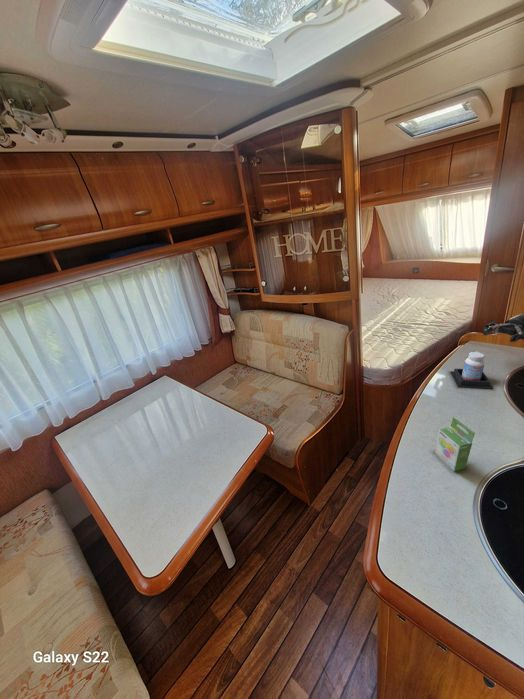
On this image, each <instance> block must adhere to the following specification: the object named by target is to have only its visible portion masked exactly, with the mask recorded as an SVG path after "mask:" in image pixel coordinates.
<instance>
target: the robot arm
mask: <svg viewBox="0 0 524 699" xmlns="http://www.w3.org/2000/svg"><path fill="white" fill-rule="evenodd" d="M482 334H483V336H488V335H490V334H496V335H498V334H499V335H500V334H503V335H508V336H510V339H509V342H510V343H514V342H515V343H516V342H517V341H521V340H523V341H524V312H523V313H519V314H517V315H515V316H513V317H511V318H508V319H507V320H506V321H505V322H504V323H499V324H498V323H497V321H490V322H488V323H486V324H484V326H483V333H482Z"/></svg>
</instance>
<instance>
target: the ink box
mask: <svg viewBox="0 0 524 699" xmlns="http://www.w3.org/2000/svg"><path fill="white" fill-rule="evenodd" d="M459 426H460V427H459ZM463 429H465V430H463ZM465 431H466V432H465ZM475 434H476V433H475V431H473V430H472V429H471V428H469V427H468V426H467V425H465V424H464V423H463V422H461V421H460V420H459V419H457V418H456V417H455V416H452V420H451V424H450V426H446V427H444V428H443V427H442V428H440V429H439V430H438V434H437V440H436V441H437V442H436V448H435V455H436V456H437V457H438V458H439V459H440V460H441V461H442V462H443V463H444V464H445V465H446V466H447V467H448V468H449V469H450V470H451V471H452V472H453V473H454V472H457V471H461V470H465V469H466V468H467V464H468V461H469V456H470V453H471V449H472V446H473V440H474V437H475Z"/></svg>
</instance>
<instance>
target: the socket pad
mask: <svg viewBox="0 0 524 699" xmlns="http://www.w3.org/2000/svg"><path fill="white" fill-rule="evenodd" d="M449 372H450V376H451V377H452V379H453V381H454V383H455V385H456V387H457V388H458V389H459V388H461V389H477V390H494V387H493V386H492V384H491V381H490V379H489V378H488V377H487V376H486V374H485V372H484V371H483V372H482V376H481V380H480V381H475V380H463V379H462V372H463V368H454V369H453V371H452V370H451V371H449Z"/></svg>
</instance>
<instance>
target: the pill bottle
mask: <svg viewBox="0 0 524 699" xmlns="http://www.w3.org/2000/svg"><path fill="white" fill-rule="evenodd" d="M484 358H485V354H484V353H483V352H479V351H471V352H469V353H468V357H466V358H465V360H464V364H463V367H462V369H463V372H462V379H463V380H475V381H480V380H481V376H482V372H483V373H484V368H485V365H486V363H485V360H484Z"/></svg>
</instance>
